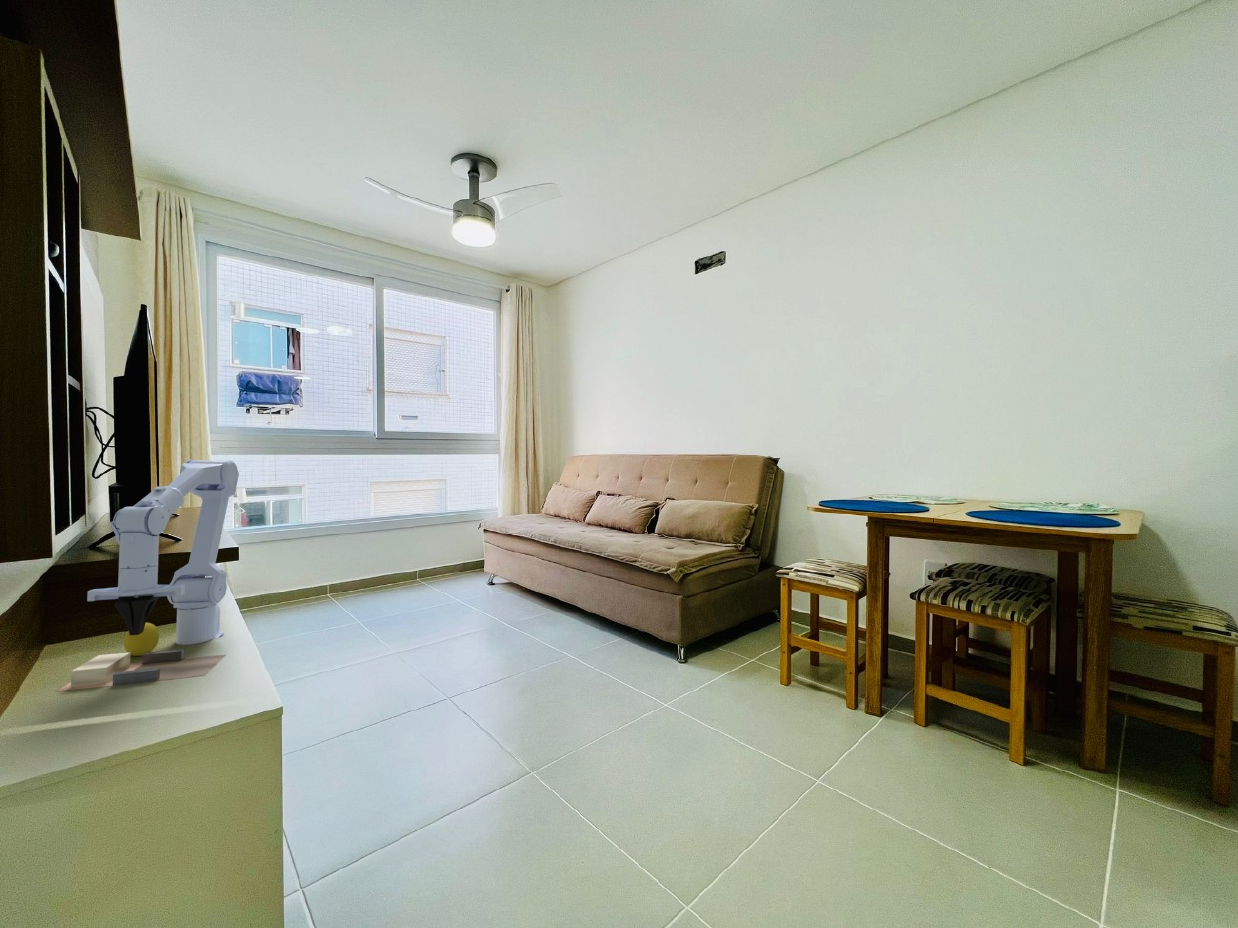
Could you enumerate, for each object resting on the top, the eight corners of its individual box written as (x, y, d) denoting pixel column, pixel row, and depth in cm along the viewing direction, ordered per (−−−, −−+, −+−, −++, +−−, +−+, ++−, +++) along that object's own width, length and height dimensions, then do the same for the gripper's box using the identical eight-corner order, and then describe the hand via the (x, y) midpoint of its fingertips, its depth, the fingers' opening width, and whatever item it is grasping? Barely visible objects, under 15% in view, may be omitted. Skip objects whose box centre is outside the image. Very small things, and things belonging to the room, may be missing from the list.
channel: (144, 662, 105) (145, 652, 105) (183, 658, 107) (184, 649, 107) (112, 685, 94) (112, 674, 94) (156, 680, 96) (156, 670, 96)
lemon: (136, 663, 106) (137, 626, 106) (116, 661, 107) (117, 623, 107) (165, 654, 111) (166, 618, 111) (145, 652, 112) (146, 616, 112)
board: (94, 671, 102) (94, 667, 102) (226, 658, 110) (226, 654, 110) (54, 695, 91) (55, 691, 91) (204, 679, 99) (204, 675, 99)
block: (97, 670, 100) (98, 655, 100) (130, 666, 102) (130, 652, 102) (70, 687, 92) (71, 670, 92) (106, 683, 94) (106, 667, 94)
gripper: (78, 571, 94) (75, 644, 94) (174, 567, 99) (172, 636, 99) (100, 565, 100) (98, 632, 100) (190, 561, 106) (188, 625, 105)
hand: (136, 633), depth 100 cm, fingers closed
